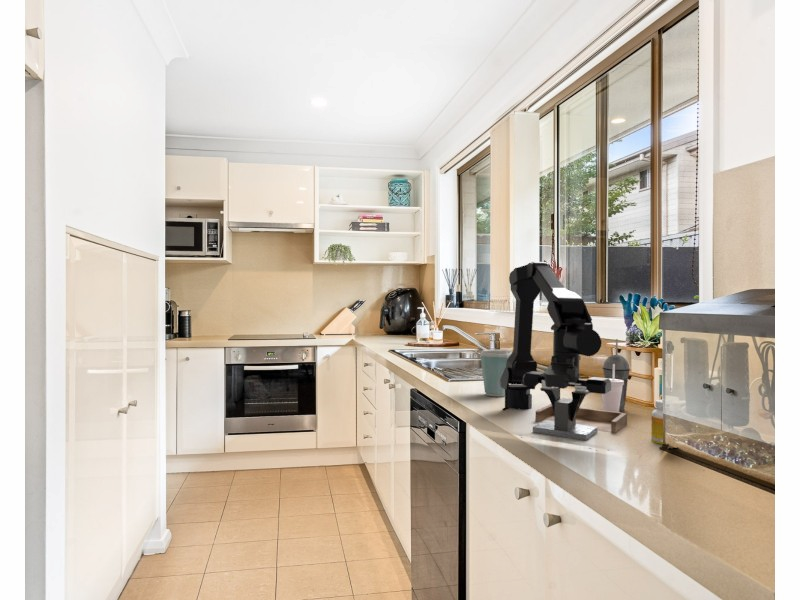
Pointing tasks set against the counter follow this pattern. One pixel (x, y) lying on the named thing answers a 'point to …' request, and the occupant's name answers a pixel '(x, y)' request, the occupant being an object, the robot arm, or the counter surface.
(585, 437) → the cover plate
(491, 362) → the disposable coffee cup
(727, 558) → the counter surface
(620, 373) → the beverage cup
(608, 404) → the smoothie
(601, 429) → the walnut box
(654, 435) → the supplement bottle
